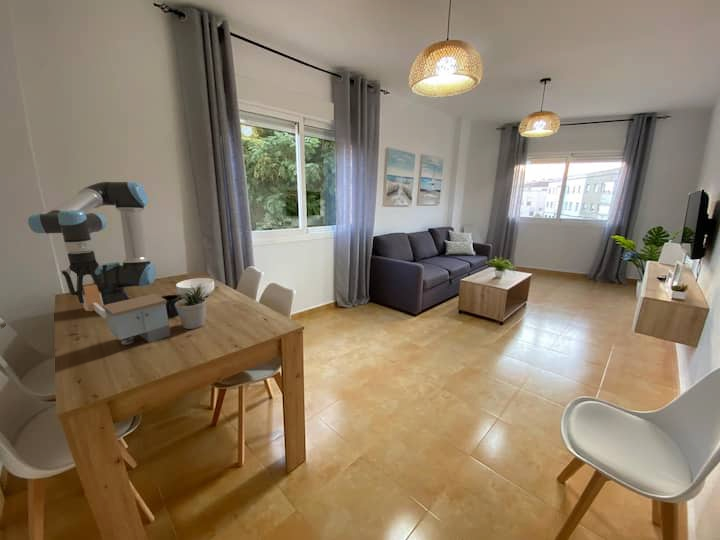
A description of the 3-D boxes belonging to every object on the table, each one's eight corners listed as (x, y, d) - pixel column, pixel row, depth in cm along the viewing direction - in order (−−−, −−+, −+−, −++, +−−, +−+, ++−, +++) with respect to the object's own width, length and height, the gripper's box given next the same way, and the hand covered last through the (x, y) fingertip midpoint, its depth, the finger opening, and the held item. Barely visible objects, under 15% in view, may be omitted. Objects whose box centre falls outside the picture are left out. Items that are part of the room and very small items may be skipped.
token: (118, 345, 119) (118, 342, 118) (128, 339, 123) (127, 337, 123) (129, 345, 118) (128, 343, 118) (137, 340, 123) (137, 337, 122)
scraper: (86, 308, 119) (80, 285, 117) (99, 305, 123) (93, 283, 120) (98, 319, 110) (92, 294, 108) (111, 316, 113) (106, 291, 111)
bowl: (222, 294, 178) (220, 281, 176) (189, 304, 162) (187, 290, 160) (203, 289, 188) (202, 276, 186) (171, 297, 172) (169, 284, 170)
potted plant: (189, 334, 128) (182, 290, 123) (172, 327, 135) (166, 285, 130) (216, 324, 138) (211, 283, 133) (199, 317, 145) (194, 278, 140)
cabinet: (110, 342, 120) (102, 305, 116) (160, 327, 134) (154, 293, 130) (121, 353, 112) (113, 313, 108) (173, 335, 127) (167, 300, 122)
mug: (160, 322, 140) (157, 304, 137) (158, 314, 149) (155, 297, 146) (183, 317, 145) (180, 300, 143) (179, 310, 154) (177, 293, 152)
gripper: (51, 256, 105) (68, 317, 111) (111, 249, 118) (123, 303, 124) (47, 253, 109) (63, 312, 115) (105, 247, 122) (117, 299, 129)
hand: (94, 307), depth 120 cm, fingers closed on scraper, 4 cm apart
